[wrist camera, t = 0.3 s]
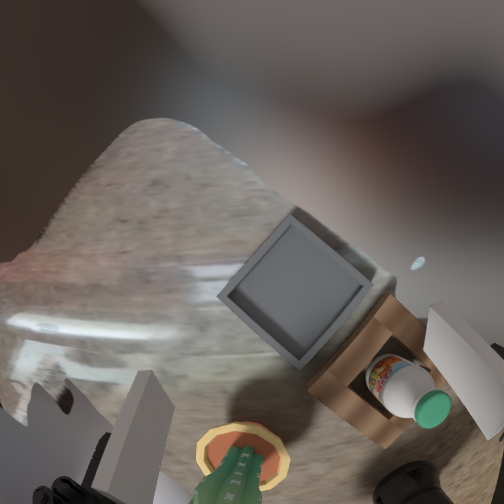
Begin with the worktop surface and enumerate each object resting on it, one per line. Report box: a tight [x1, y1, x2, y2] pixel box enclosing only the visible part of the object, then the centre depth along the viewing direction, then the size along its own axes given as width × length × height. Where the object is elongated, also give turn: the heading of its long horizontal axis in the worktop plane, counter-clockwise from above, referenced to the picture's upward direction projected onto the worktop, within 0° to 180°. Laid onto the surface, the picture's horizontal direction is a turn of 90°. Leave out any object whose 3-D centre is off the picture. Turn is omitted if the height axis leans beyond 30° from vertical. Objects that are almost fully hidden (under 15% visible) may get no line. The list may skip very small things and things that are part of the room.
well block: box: [306, 294, 447, 449], centre depth 37 cm, size 20×20×4 cm
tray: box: [217, 214, 373, 371], centre depth 43 cm, size 18×18×3 cm
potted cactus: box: [189, 421, 291, 504], centre depth 28 cm, size 15×15×25 cm
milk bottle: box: [365, 354, 451, 428], centre depth 30 cm, size 8×8×20 cm
